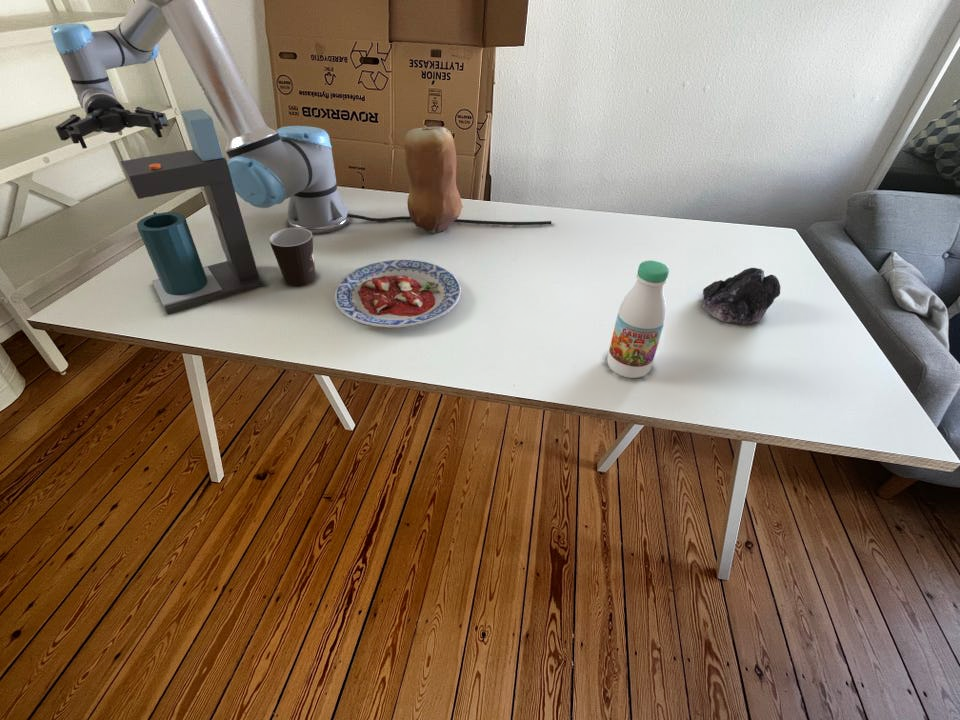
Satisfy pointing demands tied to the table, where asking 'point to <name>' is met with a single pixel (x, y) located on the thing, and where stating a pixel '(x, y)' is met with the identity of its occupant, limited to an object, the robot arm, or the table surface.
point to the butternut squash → (432, 178)
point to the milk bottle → (639, 322)
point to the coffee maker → (213, 175)
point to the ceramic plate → (397, 293)
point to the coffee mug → (294, 255)
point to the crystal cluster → (741, 296)
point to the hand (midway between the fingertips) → (121, 135)
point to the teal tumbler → (172, 252)
